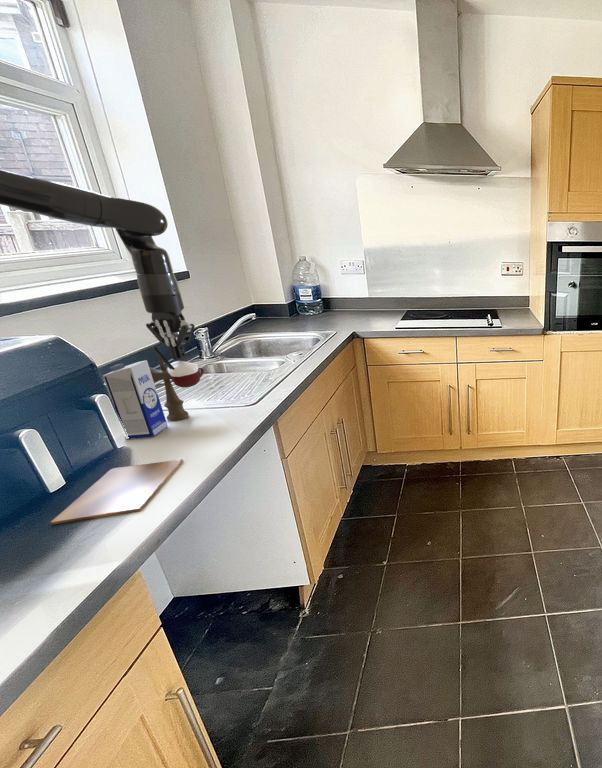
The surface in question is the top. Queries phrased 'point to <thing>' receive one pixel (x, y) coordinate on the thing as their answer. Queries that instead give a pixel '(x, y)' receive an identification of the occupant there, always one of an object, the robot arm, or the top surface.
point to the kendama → (169, 393)
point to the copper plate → (119, 491)
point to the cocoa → (181, 371)
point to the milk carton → (136, 399)
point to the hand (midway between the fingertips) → (179, 359)
